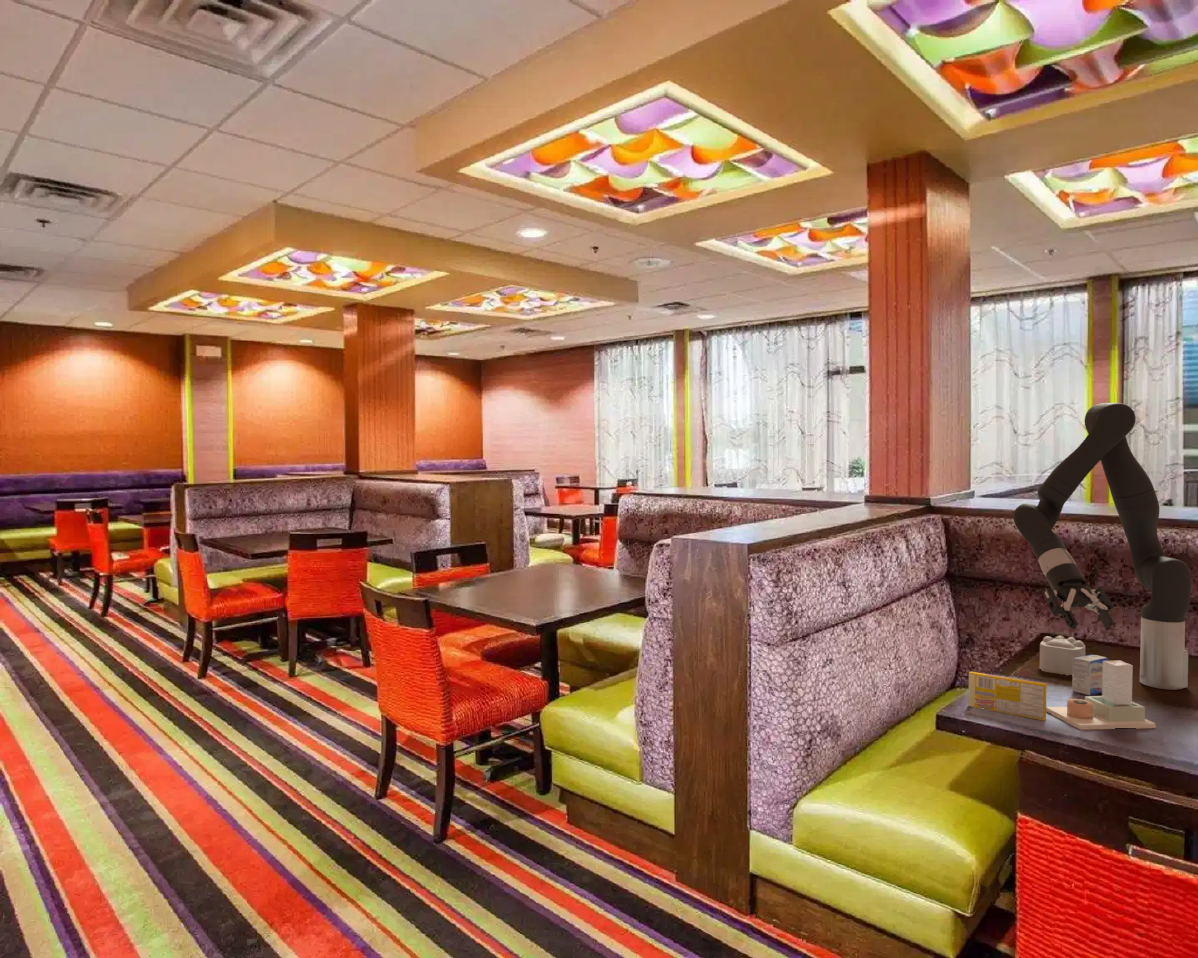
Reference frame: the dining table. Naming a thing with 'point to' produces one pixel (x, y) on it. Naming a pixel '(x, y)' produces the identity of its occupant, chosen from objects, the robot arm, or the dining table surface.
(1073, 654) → the lumpy-topped squat cylinder
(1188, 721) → the dining table surface
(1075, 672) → the medicine box
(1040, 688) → the candy box
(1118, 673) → the plain beige rectangular box
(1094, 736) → the dining table surface
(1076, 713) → the organizer
